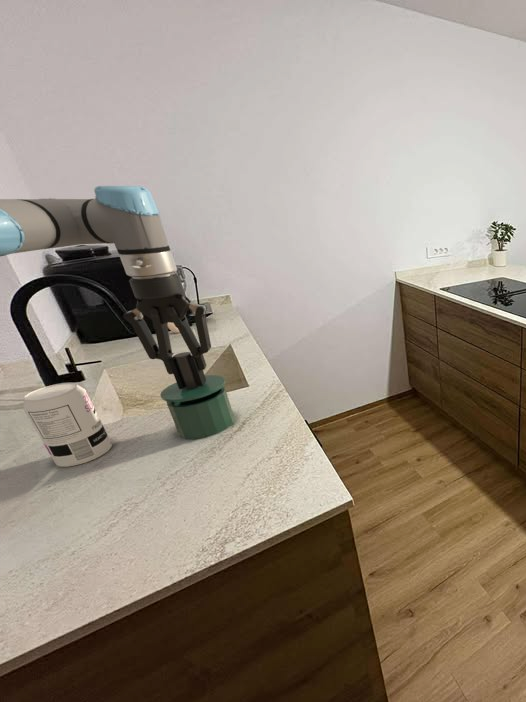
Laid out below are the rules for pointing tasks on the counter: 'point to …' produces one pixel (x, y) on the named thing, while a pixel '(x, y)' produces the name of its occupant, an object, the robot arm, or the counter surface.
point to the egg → (172, 327)
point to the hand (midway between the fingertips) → (193, 384)
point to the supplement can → (67, 423)
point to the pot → (202, 415)
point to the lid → (190, 383)
